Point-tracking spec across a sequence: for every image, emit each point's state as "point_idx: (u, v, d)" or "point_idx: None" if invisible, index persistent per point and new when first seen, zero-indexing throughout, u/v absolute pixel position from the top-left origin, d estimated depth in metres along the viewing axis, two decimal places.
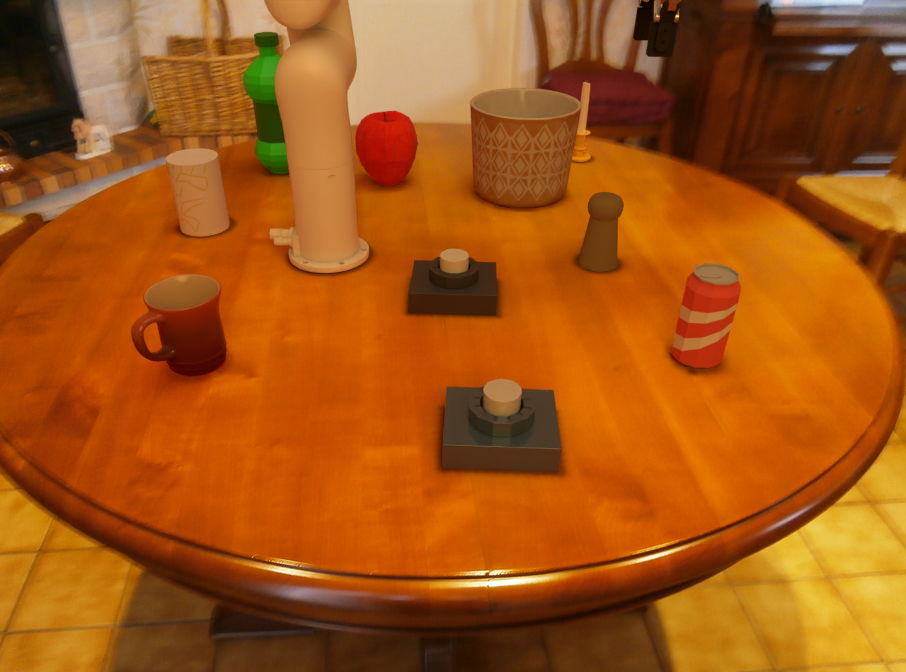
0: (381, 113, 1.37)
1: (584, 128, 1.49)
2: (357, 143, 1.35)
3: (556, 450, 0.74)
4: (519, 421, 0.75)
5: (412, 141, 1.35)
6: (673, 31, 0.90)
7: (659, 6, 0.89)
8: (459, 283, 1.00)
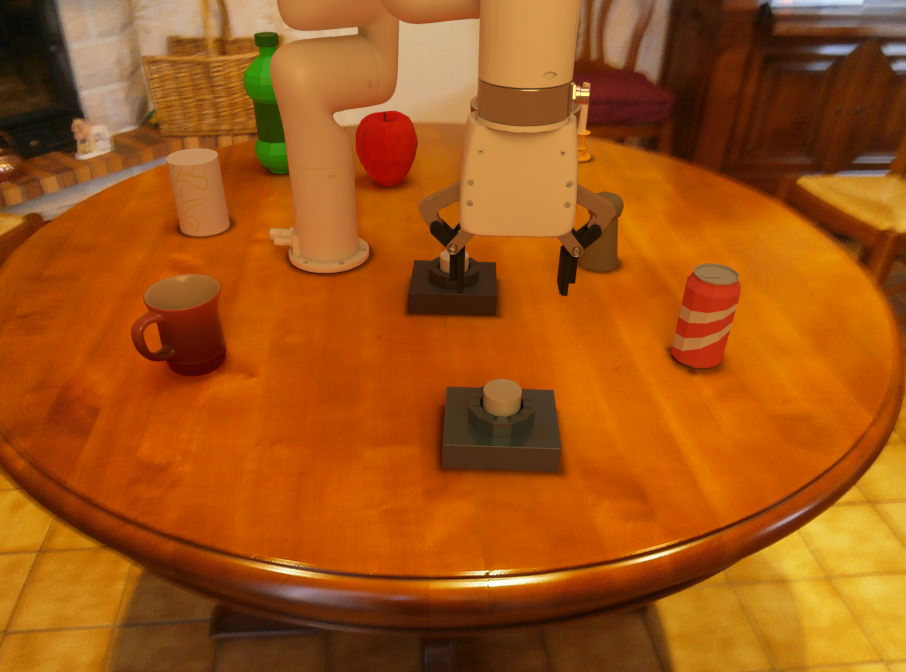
0: (381, 113, 1.37)
1: (584, 128, 1.49)
2: (357, 143, 1.35)
3: (556, 450, 0.74)
4: (519, 421, 0.75)
5: (412, 141, 1.35)
6: (457, 264, 0.67)
7: (455, 226, 0.67)
8: None
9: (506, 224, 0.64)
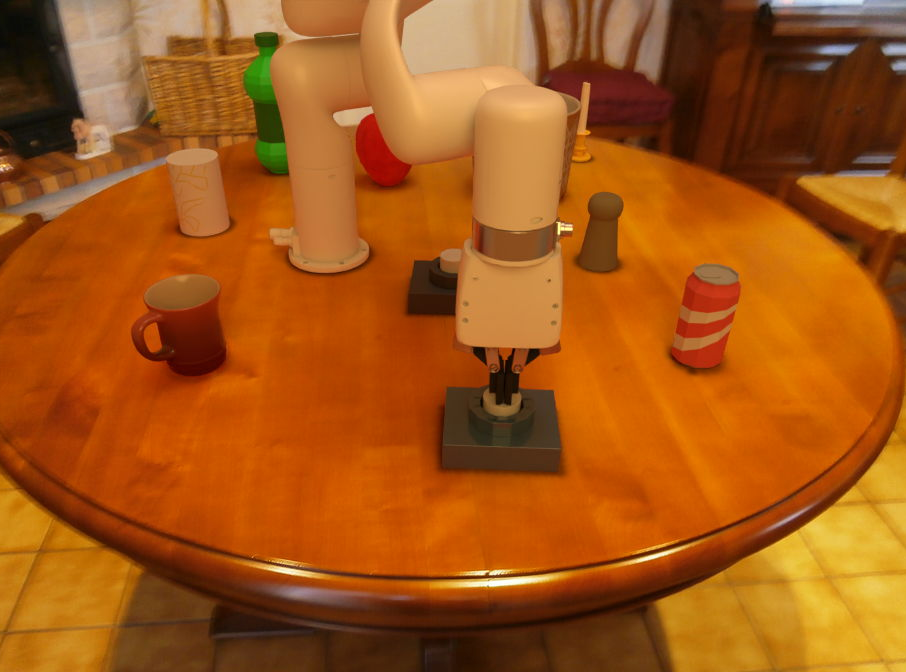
0: None
1: (584, 128, 1.49)
2: (357, 143, 1.35)
3: (556, 450, 0.74)
4: (519, 421, 0.75)
5: None
6: (496, 380, 0.74)
7: None
8: None
9: (498, 338, 0.70)
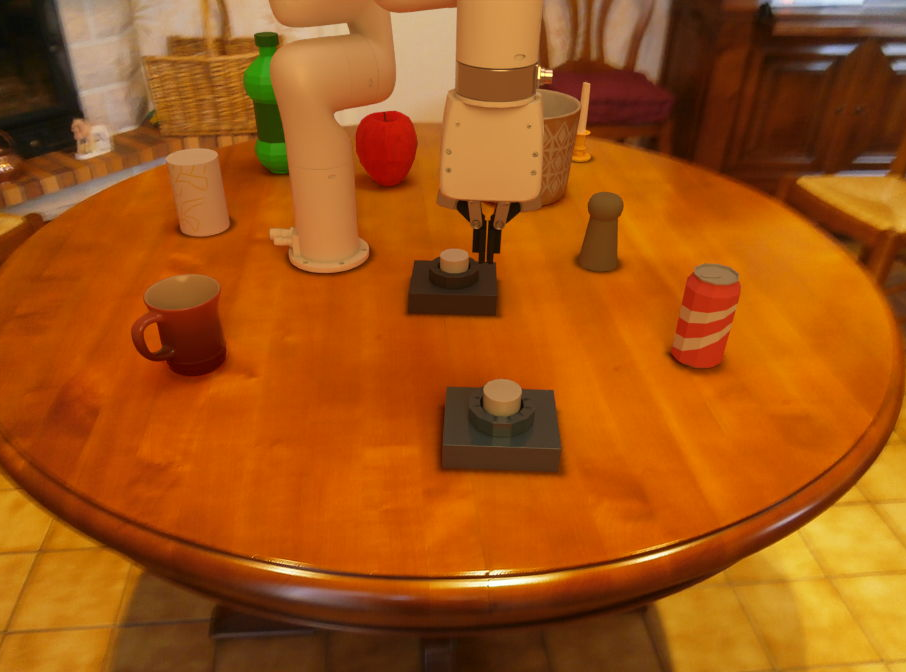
0: (381, 113, 1.37)
1: (584, 128, 1.49)
2: (357, 143, 1.35)
3: (556, 450, 0.74)
4: (519, 421, 0.75)
5: (412, 141, 1.35)
6: (479, 238, 0.76)
7: None
8: (459, 283, 1.00)
9: (480, 189, 0.72)
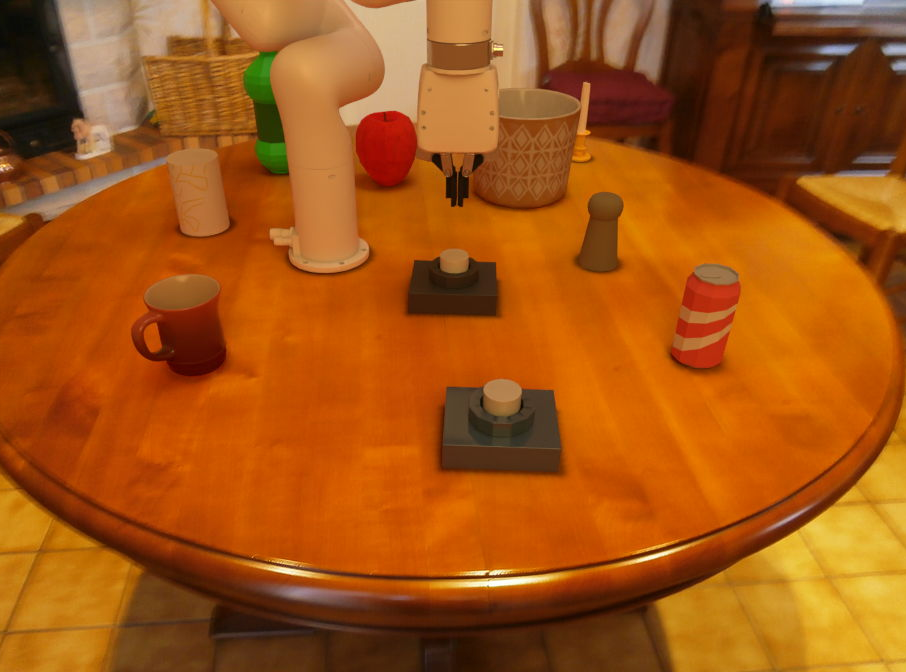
0: (381, 113, 1.37)
1: (584, 128, 1.49)
2: (357, 143, 1.35)
3: (556, 450, 0.74)
4: (519, 421, 0.75)
5: (412, 141, 1.35)
6: (451, 185, 0.94)
7: None
8: (459, 283, 1.00)
9: (450, 143, 0.90)
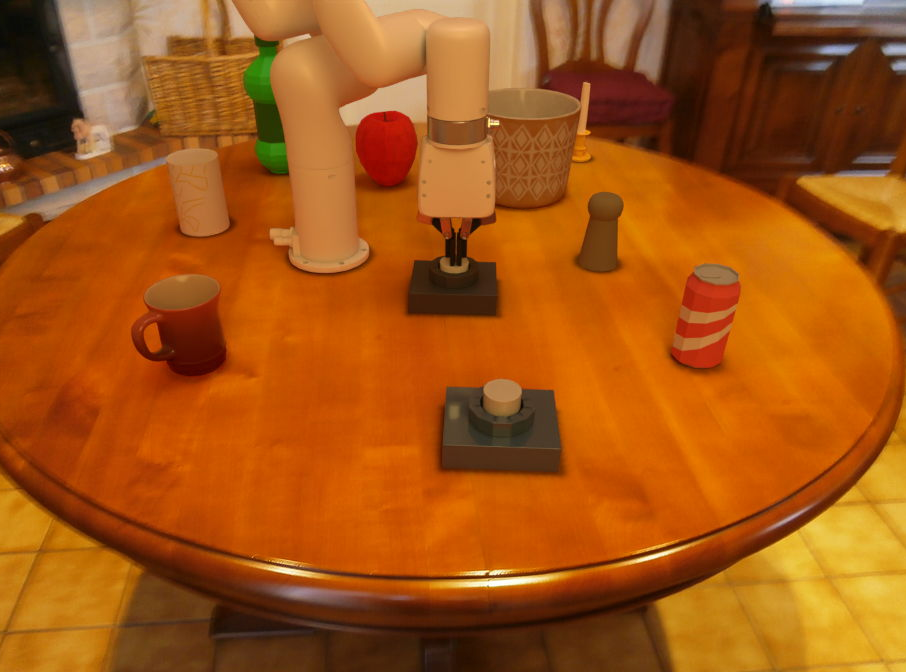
0: (381, 113, 1.37)
1: (584, 128, 1.49)
2: (357, 143, 1.35)
3: (556, 450, 0.74)
4: (519, 421, 0.75)
5: (412, 141, 1.35)
6: (450, 246, 1.00)
7: None
8: (459, 283, 1.00)
9: (449, 209, 0.96)
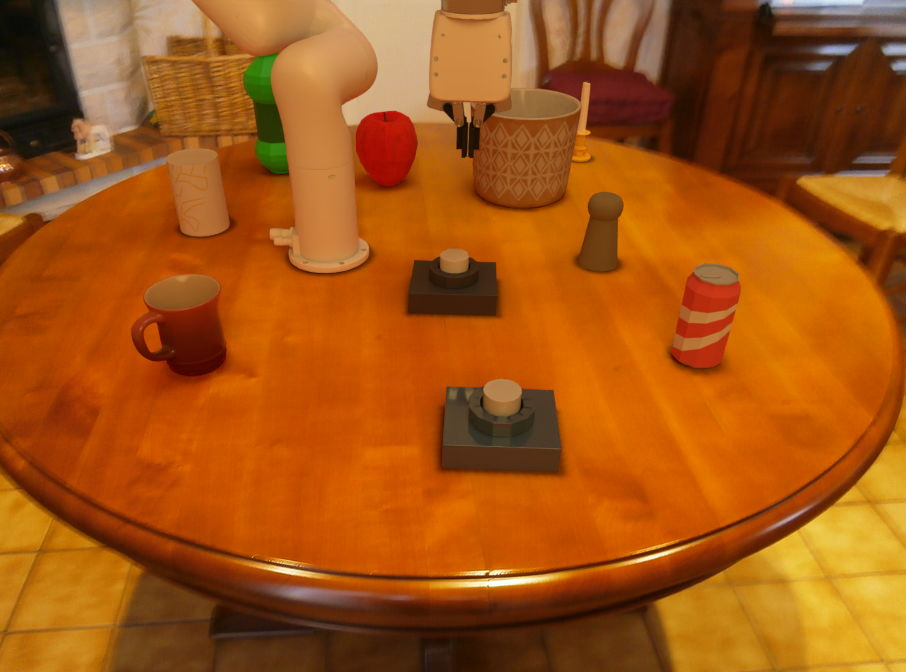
0: (381, 113, 1.37)
1: (584, 128, 1.49)
2: (357, 143, 1.35)
3: (556, 450, 0.74)
4: (519, 421, 0.75)
5: (412, 141, 1.35)
6: (462, 135, 0.94)
7: None
8: (459, 283, 1.00)
9: (462, 91, 0.90)
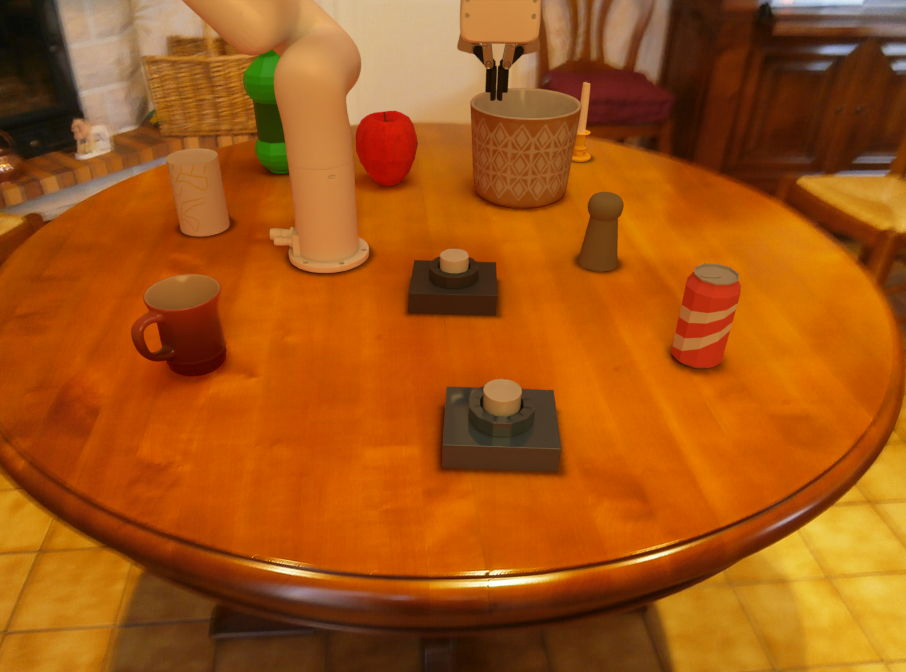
0: (381, 113, 1.37)
1: (584, 128, 1.49)
2: (357, 143, 1.35)
3: (556, 450, 0.74)
4: (519, 421, 0.75)
5: (412, 141, 1.35)
6: (491, 77, 0.96)
7: None
8: (459, 283, 1.00)
9: (492, 32, 0.92)
